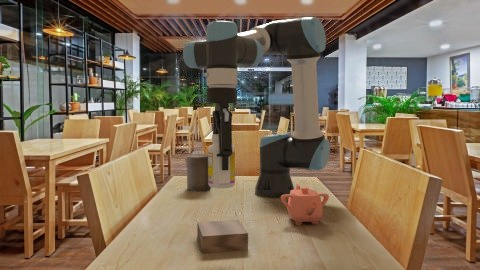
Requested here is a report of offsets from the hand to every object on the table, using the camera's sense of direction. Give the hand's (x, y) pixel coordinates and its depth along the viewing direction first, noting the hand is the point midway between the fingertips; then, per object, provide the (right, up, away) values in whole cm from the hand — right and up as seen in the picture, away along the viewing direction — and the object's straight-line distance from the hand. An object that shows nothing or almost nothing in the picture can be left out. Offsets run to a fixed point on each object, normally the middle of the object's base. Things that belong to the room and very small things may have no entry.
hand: (221, 180), depth 98 cm
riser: (0, -16, +1) cm, 16 cm away
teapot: (+24, -15, +20) cm, 35 cm away
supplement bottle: (0, -2, 0) cm, 2 cm away
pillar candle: (-12, -11, +63) cm, 66 cm away
